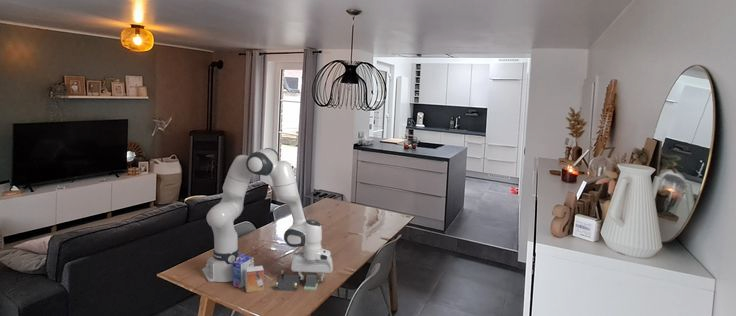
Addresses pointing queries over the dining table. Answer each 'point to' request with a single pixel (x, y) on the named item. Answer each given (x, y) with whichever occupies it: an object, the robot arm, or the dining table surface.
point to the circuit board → (311, 281)
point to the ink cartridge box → (241, 270)
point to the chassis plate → (288, 282)
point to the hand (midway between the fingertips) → (311, 280)
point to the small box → (254, 279)
